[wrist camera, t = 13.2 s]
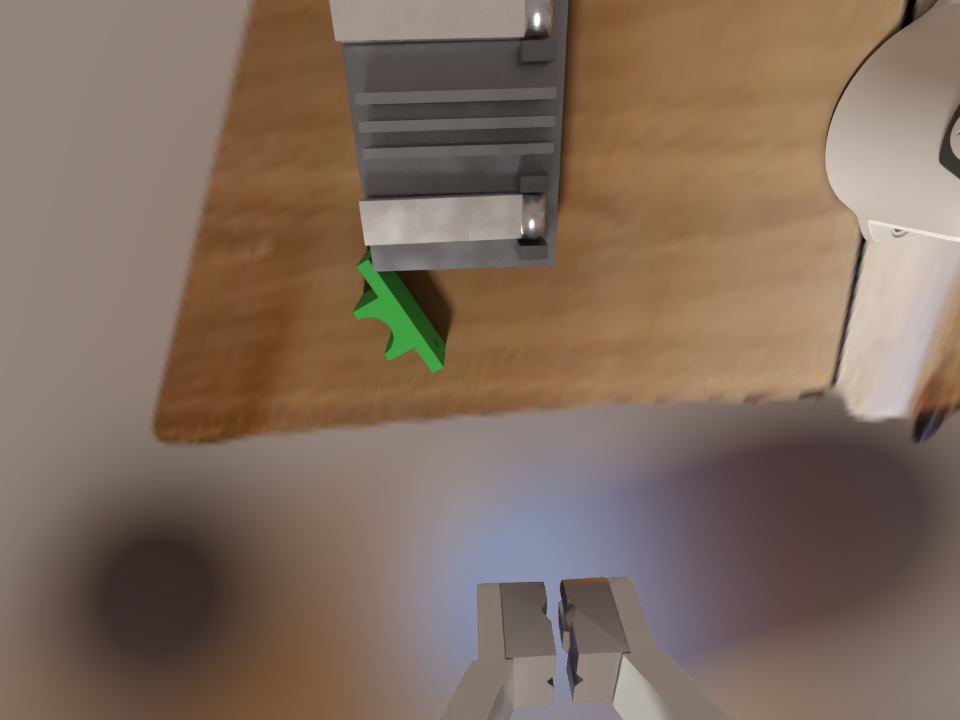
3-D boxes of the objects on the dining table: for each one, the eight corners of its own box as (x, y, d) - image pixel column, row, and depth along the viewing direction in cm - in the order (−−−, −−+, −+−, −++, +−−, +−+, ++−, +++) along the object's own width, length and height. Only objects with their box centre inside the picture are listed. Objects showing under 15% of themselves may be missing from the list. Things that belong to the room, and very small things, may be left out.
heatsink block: (556, -52, 31) (584, -100, 24) (544, 248, 40) (561, 277, 33) (344, -47, 30) (309, -94, 23) (383, 253, 40) (366, 284, 33)
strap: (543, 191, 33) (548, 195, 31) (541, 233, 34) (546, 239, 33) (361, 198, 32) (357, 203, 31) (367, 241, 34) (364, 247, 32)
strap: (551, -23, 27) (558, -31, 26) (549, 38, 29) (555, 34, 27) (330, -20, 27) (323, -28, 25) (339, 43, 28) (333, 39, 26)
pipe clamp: (343, 265, 41) (329, 282, 37) (377, 244, 40) (367, 258, 36) (413, 362, 45) (408, 386, 41) (446, 344, 44) (443, 367, 40)
